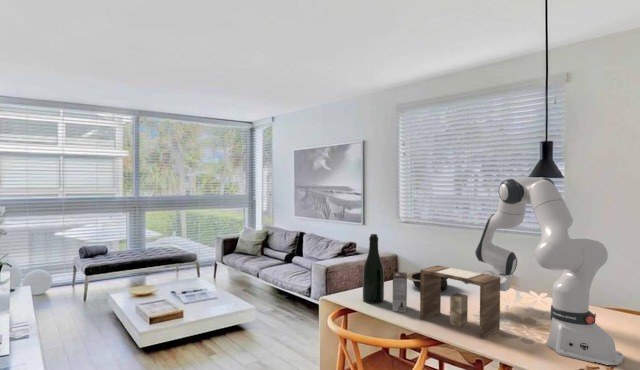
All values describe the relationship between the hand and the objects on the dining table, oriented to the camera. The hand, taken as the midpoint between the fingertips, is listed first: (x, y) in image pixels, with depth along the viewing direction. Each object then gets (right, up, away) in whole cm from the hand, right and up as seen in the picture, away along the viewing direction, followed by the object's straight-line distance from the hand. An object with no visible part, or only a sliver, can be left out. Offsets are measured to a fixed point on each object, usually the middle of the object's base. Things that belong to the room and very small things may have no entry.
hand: (475, 284), depth 174 cm
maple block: (-11, -14, -10) cm, 20 cm away
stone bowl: (-8, -14, +46) cm, 49 cm away
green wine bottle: (-42, -14, +21) cm, 49 cm away
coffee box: (-32, -14, +9) cm, 36 cm away
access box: (-11, -14, -10) cm, 20 cm away
